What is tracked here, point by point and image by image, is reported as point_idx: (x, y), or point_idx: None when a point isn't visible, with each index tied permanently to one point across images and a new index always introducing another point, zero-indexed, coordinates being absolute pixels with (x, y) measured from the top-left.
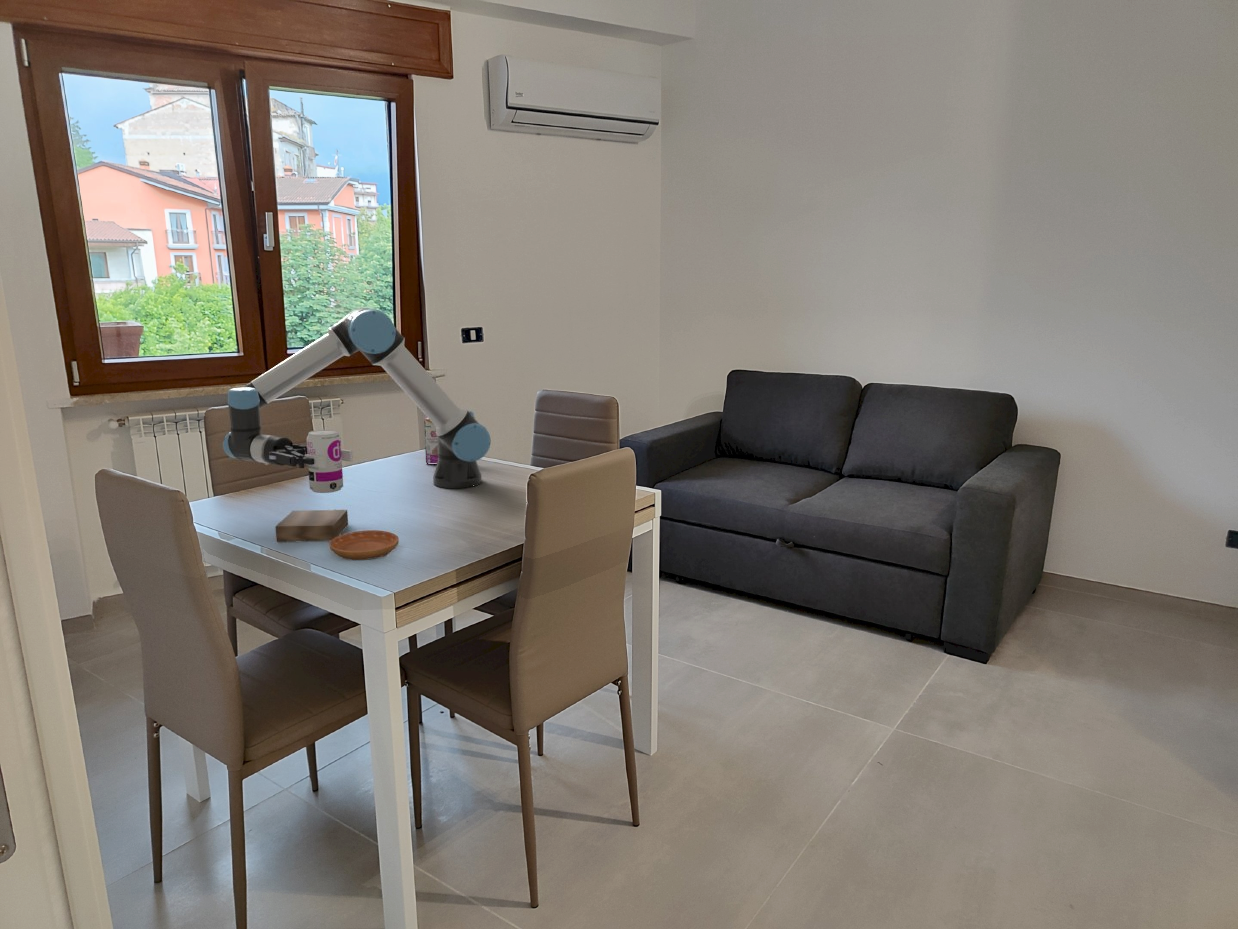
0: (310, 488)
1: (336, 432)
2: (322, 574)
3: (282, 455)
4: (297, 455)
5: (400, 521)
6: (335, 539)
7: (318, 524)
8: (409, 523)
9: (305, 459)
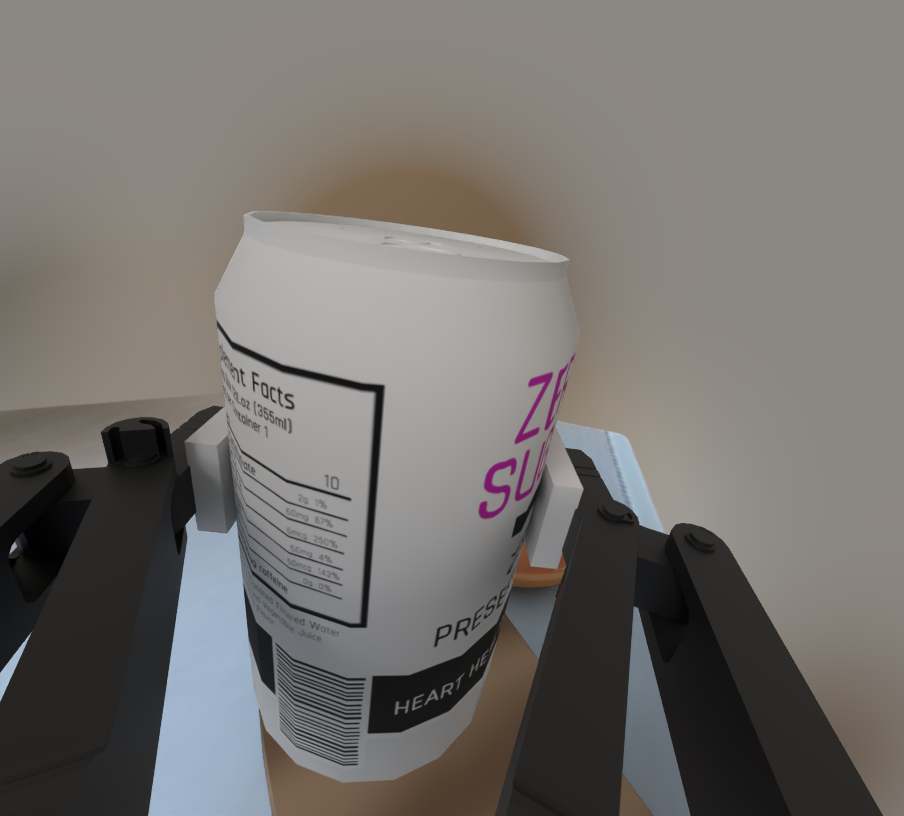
0: (477, 703)
1: (339, 224)
2: (661, 529)
3: (829, 744)
4: (637, 544)
5: (200, 576)
6: (548, 573)
7: (526, 669)
8: (228, 543)
9: (600, 488)
